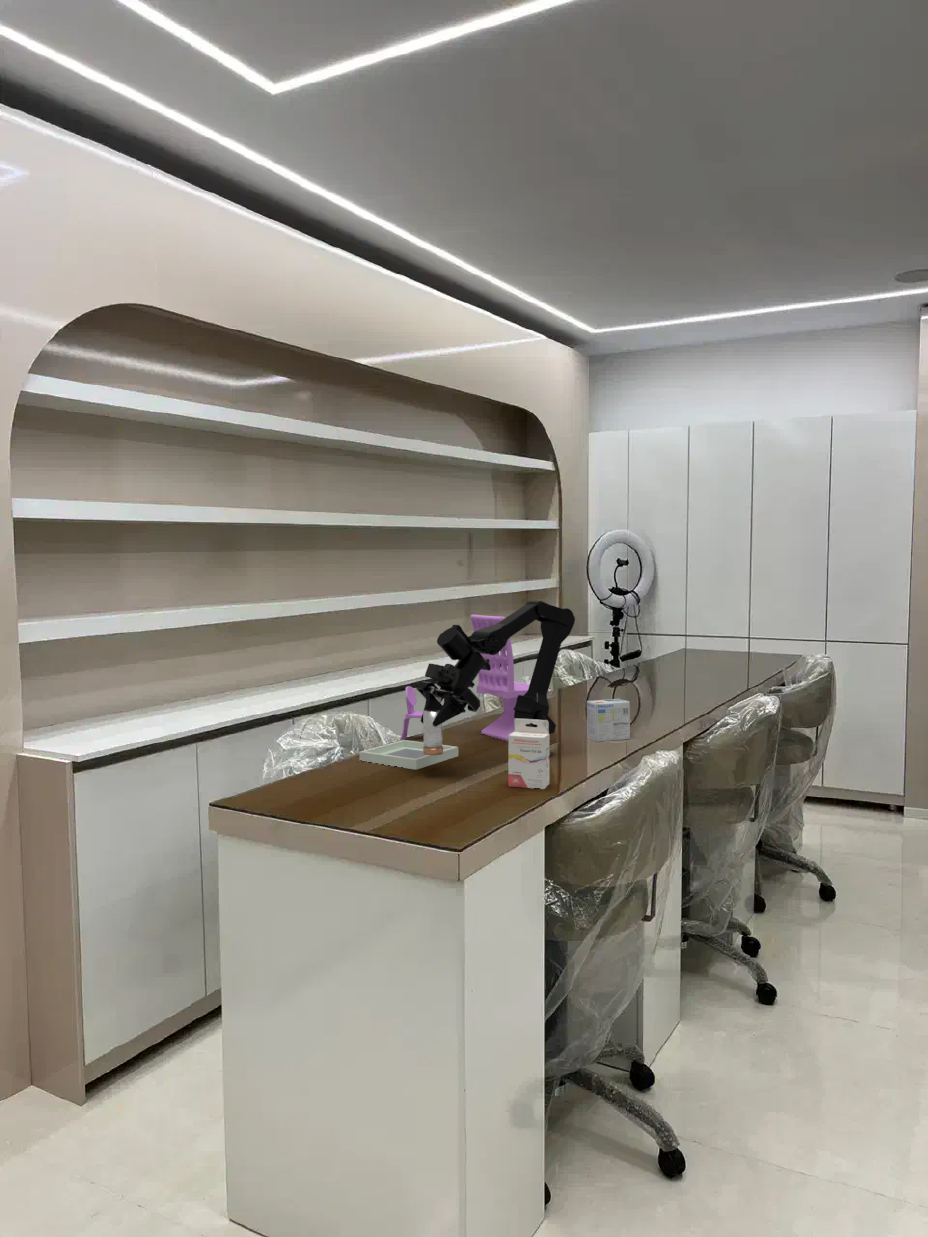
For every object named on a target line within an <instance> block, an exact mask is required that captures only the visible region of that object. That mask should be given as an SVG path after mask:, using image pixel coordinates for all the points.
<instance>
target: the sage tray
mask: <svg viewBox="0 0 928 1237" xmlns="http://www.w3.org/2000/svg"><path fill="white" fill-rule="evenodd" d="M442 746H443V754H440V755H425V754H423V747H424V741H416V740H407V739H403V740H401V741H400V740H397V741H393V742H391V743H386V744H383V745H380V746H375V747H373V748H369V749H365V750H361V751H359V757H358V758H359V761H360V760H362V761H367V762H366V763H368V762H372V763H371V764H375V763H378V764H377V765H381V764H384V765H383V766H388V765H390V766H389V767H394V766H397V767H396V768H401V767H403V768H402V769H409V770H414V771H415V770H420V769H423V768H425V767H428V766H433V765H435V764H439V763H441V762H444V761H448V760H450V759H453V758H456V757H459V746H453V745H447V744H442Z"/></svg>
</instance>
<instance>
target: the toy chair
mask: <svg viewBox="0 0 928 1237" xmlns="http://www.w3.org/2000/svg"><path fill="white" fill-rule="evenodd" d="M405 700H406V701H405V702H406V703H405V704H406V709H407V713H406V714H405V715H404V716H405V717H404V719H403V728H402V733H401V736H400V740H399V741H401V740H405V738H407V737H408V731H409V724H410V720H411V719H421V717H422V714H423V711H419V710H414V707H415V705H416V703H417V696H416V691H415V689H414V687H412V686H410V685H407V686H406V687H405Z"/></svg>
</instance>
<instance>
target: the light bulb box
mask: <svg viewBox="0 0 928 1237" xmlns="http://www.w3.org/2000/svg"><path fill="white" fill-rule="evenodd" d="M630 703H631V702H630V701H629V700H626V699H621V698H612V699H598V700H586V732H587V735H586V736H587V737H586V738H587V739H589V740H591V741H594V742H596V743H599V742H609V741H620V740H621V741H622V740H630V739H631V706H630V705H631V704H630Z"/></svg>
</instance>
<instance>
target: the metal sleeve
mask: <svg viewBox="0 0 928 1237" xmlns="http://www.w3.org/2000/svg"><path fill="white" fill-rule="evenodd" d="M439 711H440V710H437V709H430V710H424V709H423V711H422V712H423V723H422V725H423V729H422V730H423V742H424V747H423V754H425V755H440V754H443V746H442V745H443V723H442V724H440V725H438V726H436V727H435V726H434V725H433V721H434V719H435V718H436V716H437V714H438V713H439Z"/></svg>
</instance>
